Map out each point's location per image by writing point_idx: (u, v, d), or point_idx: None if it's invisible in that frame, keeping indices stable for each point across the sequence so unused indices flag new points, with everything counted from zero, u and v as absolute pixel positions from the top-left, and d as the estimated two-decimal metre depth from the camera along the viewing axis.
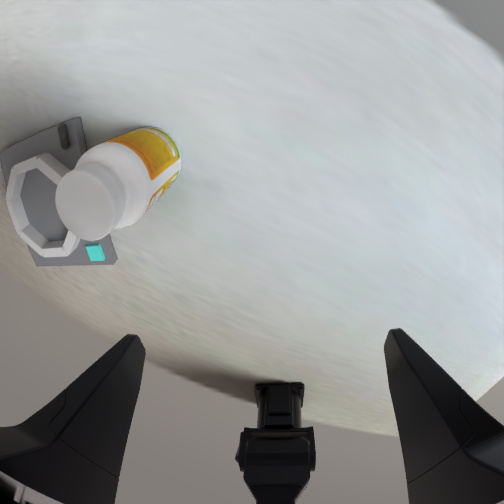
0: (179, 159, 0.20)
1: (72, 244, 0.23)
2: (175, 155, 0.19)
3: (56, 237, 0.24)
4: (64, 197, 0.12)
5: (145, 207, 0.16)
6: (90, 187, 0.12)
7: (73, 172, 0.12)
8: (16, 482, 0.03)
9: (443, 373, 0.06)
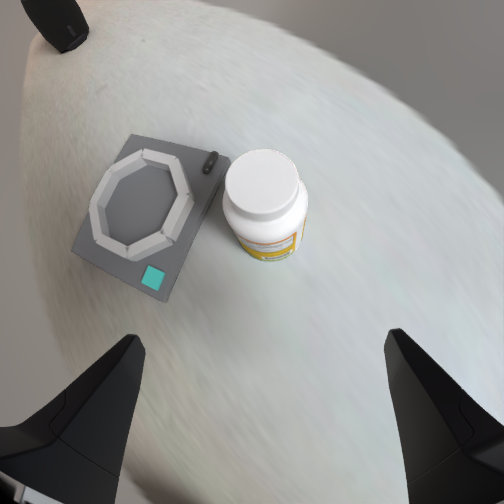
0: (300, 242, 0.23)
1: (142, 250, 0.23)
2: (302, 234, 0.22)
3: (122, 238, 0.25)
4: (248, 162, 0.15)
5: (289, 233, 0.17)
6: (284, 169, 0.15)
7: (275, 151, 0.15)
8: (16, 482, 0.03)
9: (443, 373, 0.06)
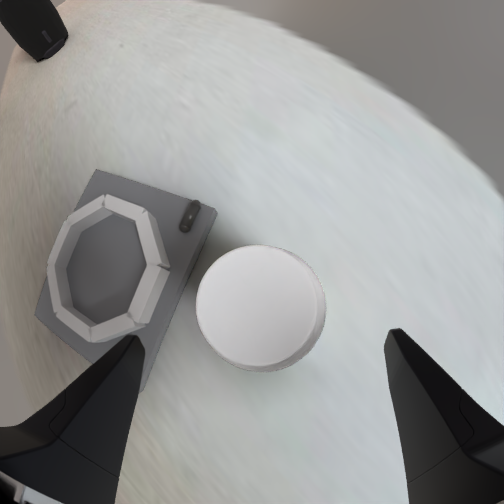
0: None
1: (107, 335, 0.17)
2: None
3: (86, 310, 0.19)
4: (234, 272, 0.09)
5: (296, 361, 0.11)
6: (294, 287, 0.09)
7: (279, 251, 0.09)
8: (16, 482, 0.03)
9: (443, 373, 0.06)
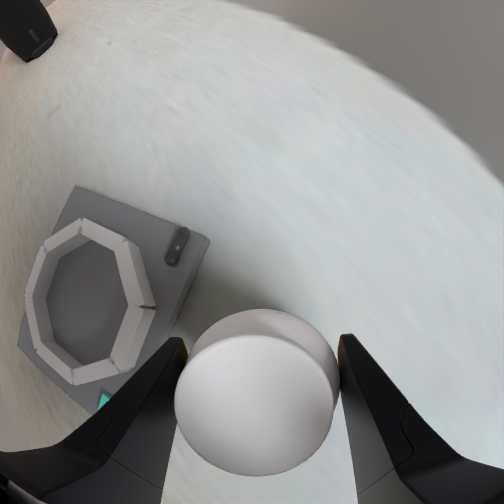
0: None
1: (89, 380, 0.14)
2: None
3: (68, 346, 0.16)
4: (222, 370, 0.06)
5: None
6: (304, 393, 0.06)
7: (285, 345, 0.06)
8: None
9: (389, 384, 0.06)
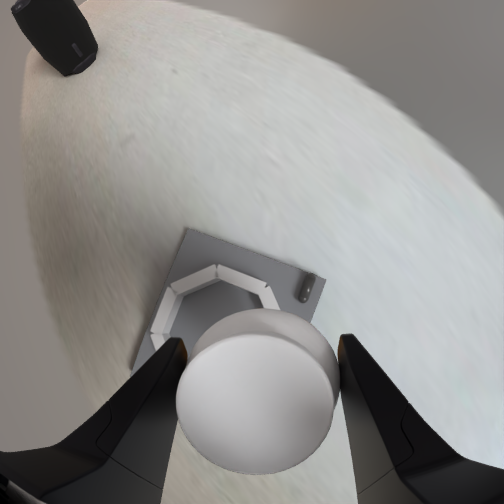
0: None
1: None
2: None
3: None
4: (224, 370, 0.06)
5: None
6: (304, 392, 0.06)
7: (286, 344, 0.06)
8: None
9: (389, 384, 0.06)
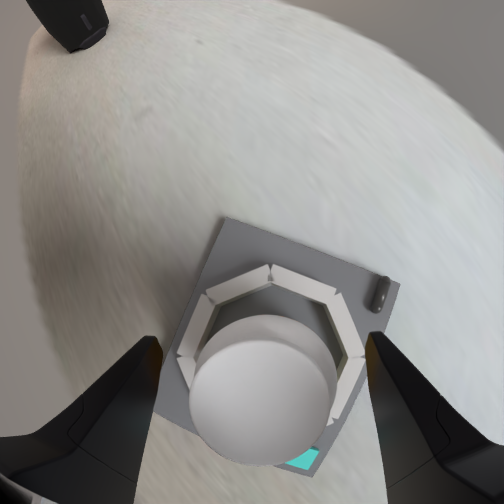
0: None
1: None
2: None
3: None
4: (232, 372, 0.07)
5: None
6: (304, 391, 0.07)
7: (288, 349, 0.07)
8: (33, 494, 0.03)
9: (421, 378, 0.06)
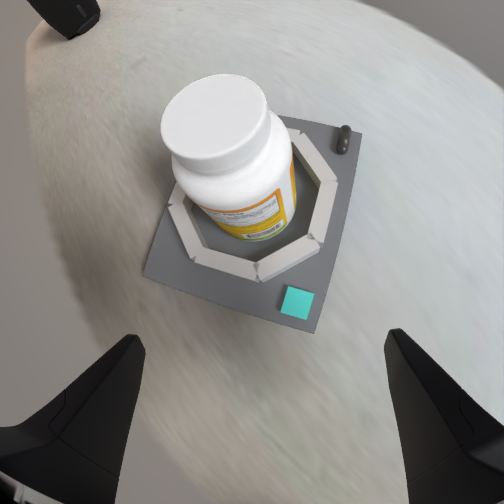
0: (293, 211, 0.17)
1: (282, 266, 0.16)
2: (295, 199, 0.16)
3: (232, 250, 0.18)
4: (192, 94, 0.10)
5: (267, 191, 0.11)
6: (243, 92, 0.09)
7: (229, 74, 0.09)
8: (16, 482, 0.03)
9: (443, 373, 0.06)
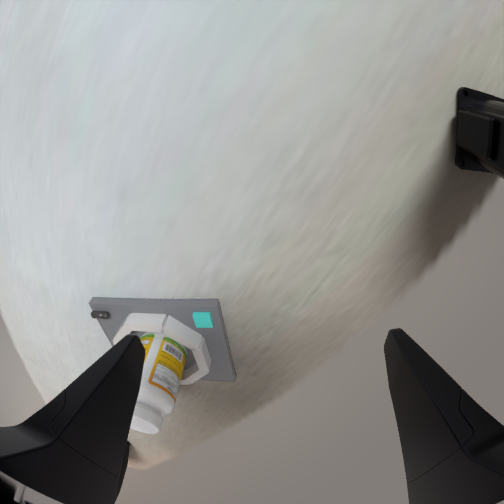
0: (155, 335, 0.26)
1: (185, 339, 0.25)
2: (149, 341, 0.26)
3: None
4: (135, 428, 0.21)
5: (152, 389, 0.21)
6: None
7: None
8: (16, 482, 0.03)
9: (443, 373, 0.06)
